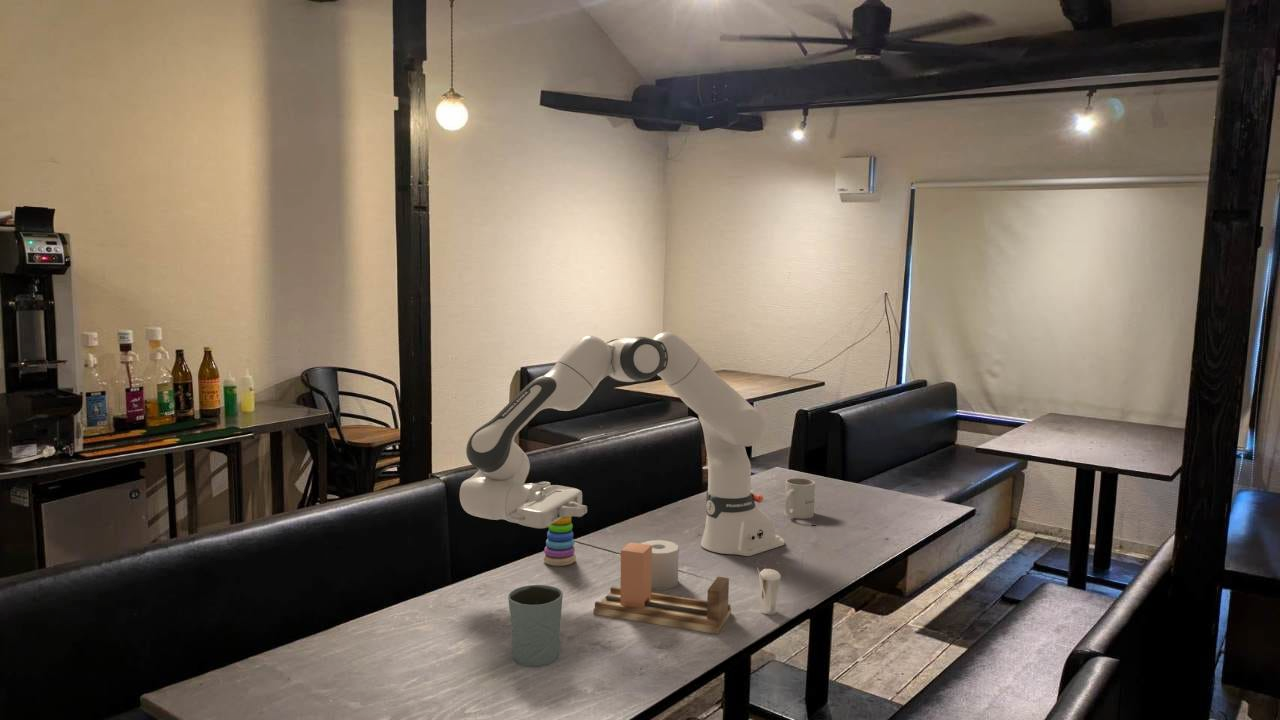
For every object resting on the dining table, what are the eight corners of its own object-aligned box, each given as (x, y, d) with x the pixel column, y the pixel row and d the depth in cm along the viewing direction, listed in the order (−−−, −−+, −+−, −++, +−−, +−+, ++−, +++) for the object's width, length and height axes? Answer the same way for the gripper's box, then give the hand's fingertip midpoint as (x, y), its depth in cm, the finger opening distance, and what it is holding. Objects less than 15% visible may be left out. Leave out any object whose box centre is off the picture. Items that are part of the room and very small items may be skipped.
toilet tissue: (618, 577, 198) (619, 542, 197) (674, 574, 200) (674, 539, 199) (624, 591, 189) (624, 554, 188) (682, 588, 191) (682, 552, 190)
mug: (797, 508, 256) (798, 476, 255) (819, 515, 250) (820, 482, 249) (770, 515, 249) (771, 482, 247) (792, 522, 242) (794, 488, 241)
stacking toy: (570, 568, 203) (570, 493, 201) (539, 565, 205) (539, 490, 203) (579, 557, 211) (579, 484, 209) (549, 555, 212) (549, 482, 210)
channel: (593, 613, 177) (593, 576, 176) (612, 595, 187) (613, 559, 186) (717, 634, 168) (718, 594, 167) (731, 613, 178) (731, 575, 177)
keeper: (620, 605, 177) (620, 550, 176) (629, 596, 183) (630, 542, 181) (642, 609, 176) (643, 553, 174) (651, 599, 181) (651, 545, 180)
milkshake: (750, 610, 180) (751, 564, 178) (772, 606, 182) (773, 561, 181) (761, 618, 175) (763, 572, 174) (783, 614, 178) (785, 568, 176)
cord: (605, 600, 181) (605, 595, 181) (606, 598, 182) (606, 594, 182) (712, 616, 173) (712, 612, 173) (713, 615, 174) (713, 610, 174)
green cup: (516, 672, 151) (516, 608, 150) (502, 648, 160) (502, 588, 159) (570, 662, 155) (570, 599, 154) (553, 640, 164) (553, 580, 163)
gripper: (504, 501, 176) (564, 509, 171) (547, 479, 195) (602, 486, 190) (504, 531, 176) (563, 539, 172) (547, 506, 195) (602, 513, 191)
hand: (584, 511), depth 181 cm, fingers closed
